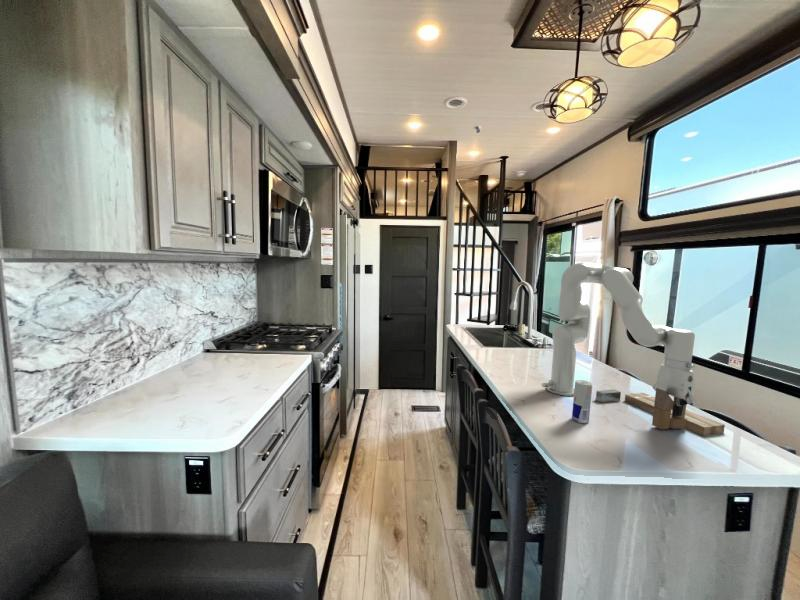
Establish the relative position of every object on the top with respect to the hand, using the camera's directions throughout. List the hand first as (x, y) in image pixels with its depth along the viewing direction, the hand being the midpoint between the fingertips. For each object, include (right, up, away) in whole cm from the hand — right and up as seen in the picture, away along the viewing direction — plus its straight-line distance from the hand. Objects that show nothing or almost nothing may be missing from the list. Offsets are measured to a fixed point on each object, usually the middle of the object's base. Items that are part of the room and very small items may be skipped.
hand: (670, 412), depth 118 cm
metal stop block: (-7, -3, +25) cm, 26 cm away
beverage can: (-30, -5, +5) cm, 31 cm away
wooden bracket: (0, -5, +1) cm, 6 cm away
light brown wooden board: (+9, -5, +12) cm, 16 cm away
